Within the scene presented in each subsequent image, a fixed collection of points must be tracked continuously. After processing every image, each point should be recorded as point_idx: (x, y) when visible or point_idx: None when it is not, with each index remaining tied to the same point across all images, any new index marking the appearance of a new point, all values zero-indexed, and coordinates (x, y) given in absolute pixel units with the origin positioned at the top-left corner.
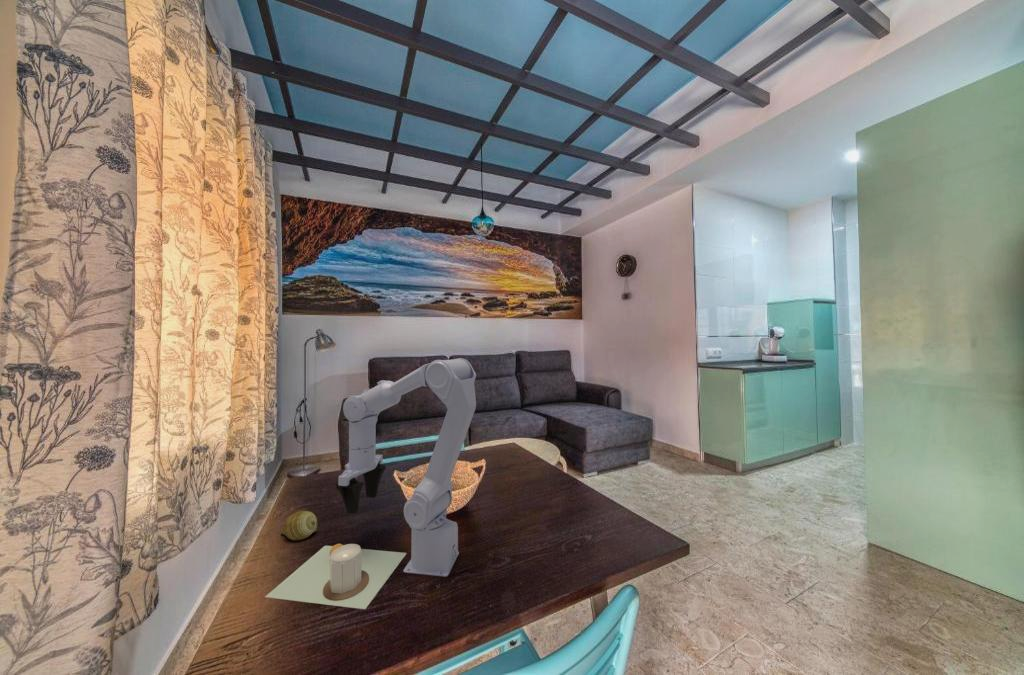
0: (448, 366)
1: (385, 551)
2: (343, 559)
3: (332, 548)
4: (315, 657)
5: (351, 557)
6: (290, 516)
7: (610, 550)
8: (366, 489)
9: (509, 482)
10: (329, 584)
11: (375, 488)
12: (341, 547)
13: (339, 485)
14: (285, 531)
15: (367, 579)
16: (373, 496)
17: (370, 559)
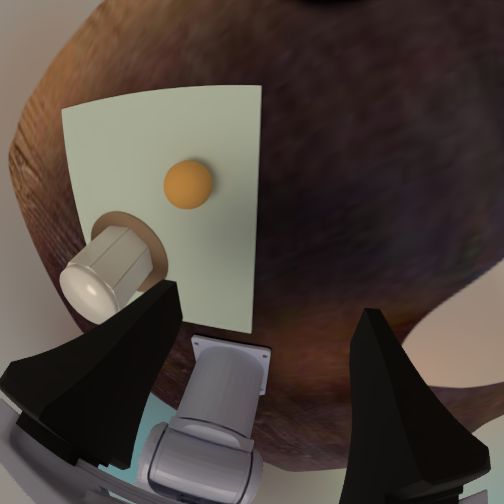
0: None
1: (250, 292)
2: (70, 302)
3: (167, 180)
4: (50, 268)
5: (82, 315)
6: None
7: (281, 458)
8: (375, 343)
9: (487, 403)
10: (111, 222)
11: (354, 390)
12: (88, 283)
13: (4, 402)
14: None
15: (147, 289)
16: (352, 344)
17: (211, 269)
